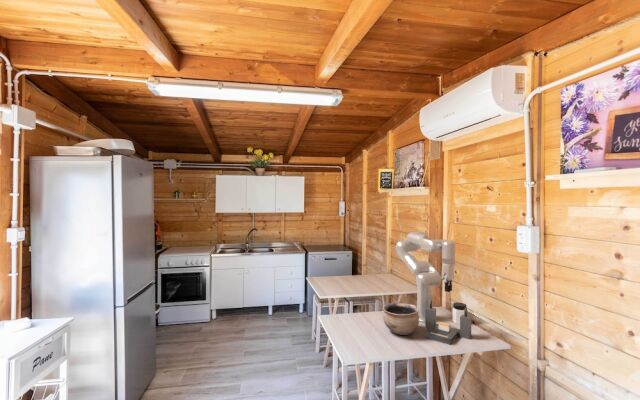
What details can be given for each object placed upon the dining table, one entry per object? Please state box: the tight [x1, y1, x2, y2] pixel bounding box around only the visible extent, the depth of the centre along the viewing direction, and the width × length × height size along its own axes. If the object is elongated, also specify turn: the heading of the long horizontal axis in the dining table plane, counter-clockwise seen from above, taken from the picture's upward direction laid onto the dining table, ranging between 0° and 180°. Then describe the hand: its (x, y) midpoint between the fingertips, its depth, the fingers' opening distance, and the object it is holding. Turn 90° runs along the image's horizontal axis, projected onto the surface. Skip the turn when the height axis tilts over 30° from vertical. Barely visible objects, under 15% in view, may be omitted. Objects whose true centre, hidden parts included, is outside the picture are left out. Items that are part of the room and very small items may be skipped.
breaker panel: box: [425, 323, 460, 345], centre depth 189 cm, size 14×18×3 cm
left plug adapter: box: [424, 299, 437, 330], centre depth 202 cm, size 5×5×17 cm
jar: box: [451, 302, 467, 325], centre depth 211 cm, size 9×8×12 cm
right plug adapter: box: [459, 306, 472, 340], centre depth 189 cm, size 5×5×17 cm
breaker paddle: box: [438, 321, 451, 332], centre depth 191 cm, size 6×2×4 cm, turn 50°
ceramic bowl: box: [382, 302, 420, 336], centre depth 195 cm, size 22×22×15 cm
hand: (448, 290), depth 196 cm, fingers closed
